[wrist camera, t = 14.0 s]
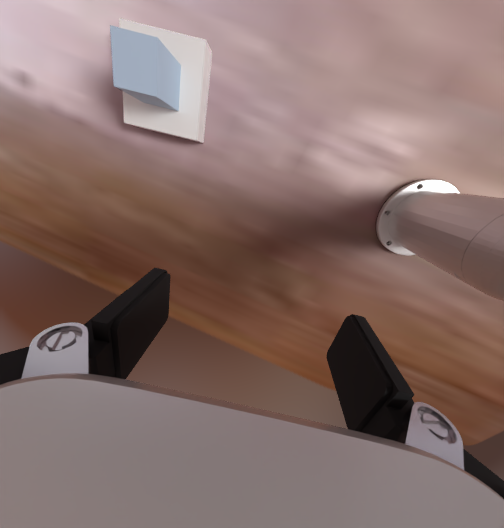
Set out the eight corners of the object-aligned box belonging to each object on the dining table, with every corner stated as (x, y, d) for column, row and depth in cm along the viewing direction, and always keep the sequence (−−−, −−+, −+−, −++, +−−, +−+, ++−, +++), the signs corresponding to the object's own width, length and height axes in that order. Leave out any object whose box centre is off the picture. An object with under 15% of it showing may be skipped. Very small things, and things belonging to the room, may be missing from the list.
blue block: (181, 65, 26) (157, 37, 21) (178, 111, 28) (156, 96, 23) (143, 55, 26) (110, 25, 21) (143, 102, 28) (113, 86, 23)
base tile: (212, 52, 28) (205, 39, 25) (203, 143, 32) (197, 140, 30) (134, 33, 28) (119, 17, 25) (136, 126, 32) (123, 122, 29)
